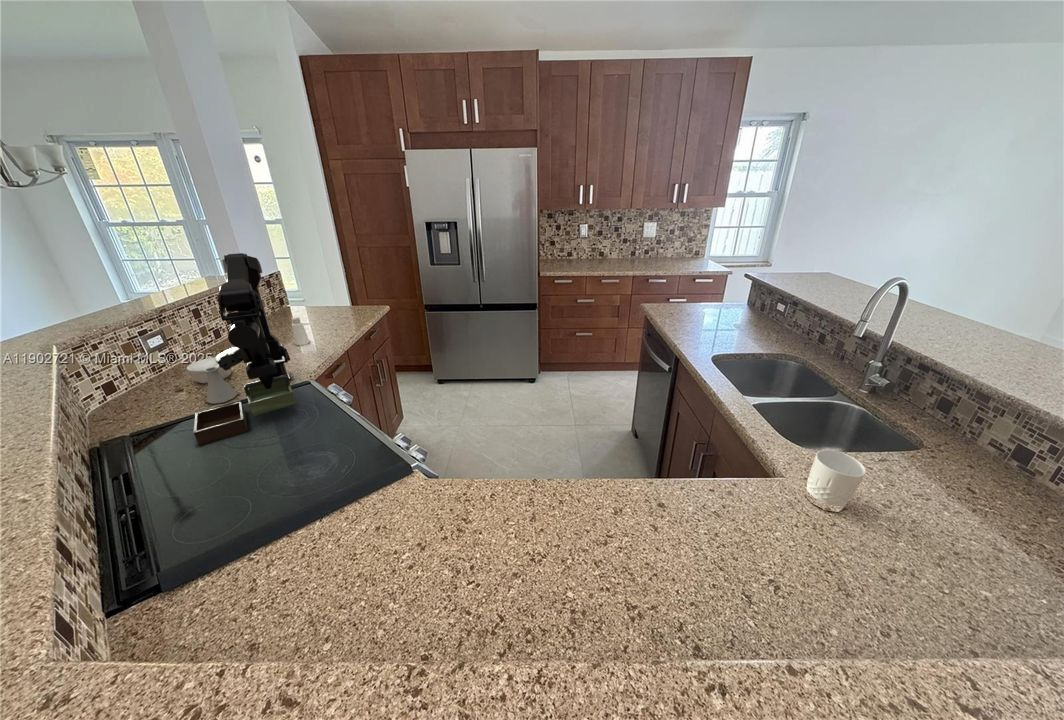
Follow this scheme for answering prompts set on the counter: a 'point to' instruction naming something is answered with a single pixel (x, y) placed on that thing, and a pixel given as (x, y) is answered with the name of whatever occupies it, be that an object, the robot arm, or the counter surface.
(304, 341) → the pepper shaker
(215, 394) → the flask
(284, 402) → the top basket
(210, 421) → the bottom basket
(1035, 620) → the counter surface
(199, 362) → the ramekin
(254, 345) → the robot arm
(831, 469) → the white cup
